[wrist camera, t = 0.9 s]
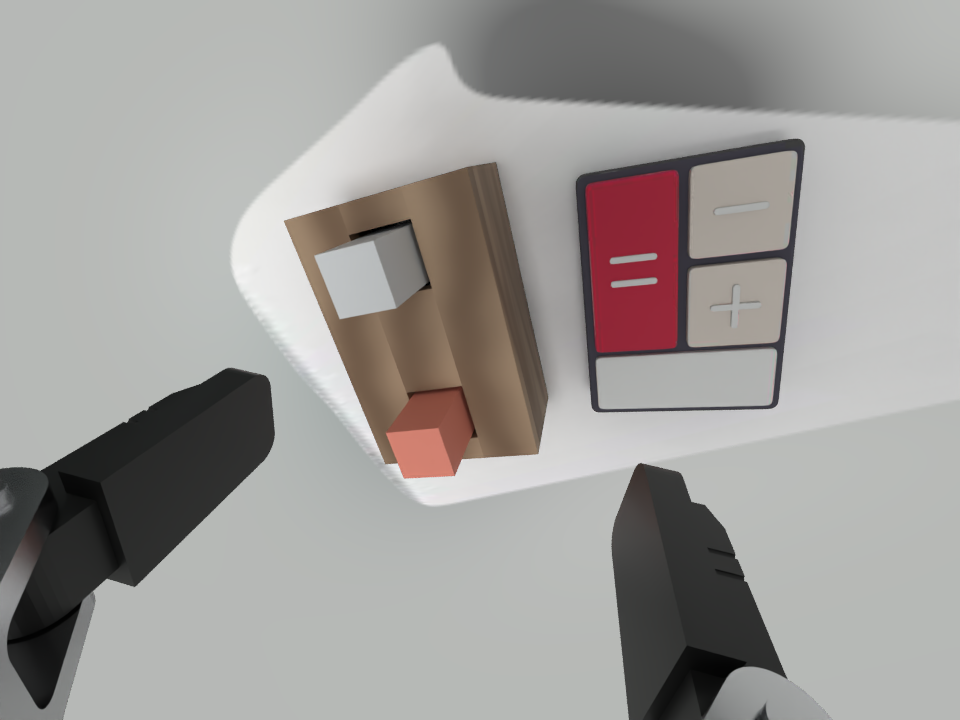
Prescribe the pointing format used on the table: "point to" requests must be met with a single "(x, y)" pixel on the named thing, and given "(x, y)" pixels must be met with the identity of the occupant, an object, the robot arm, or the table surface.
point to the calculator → (689, 278)
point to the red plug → (432, 433)
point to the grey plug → (374, 271)
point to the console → (440, 311)
